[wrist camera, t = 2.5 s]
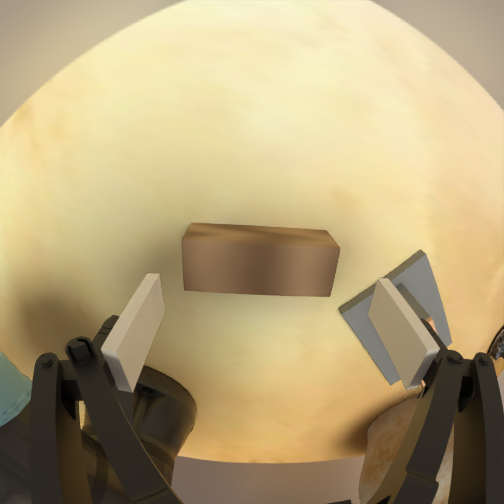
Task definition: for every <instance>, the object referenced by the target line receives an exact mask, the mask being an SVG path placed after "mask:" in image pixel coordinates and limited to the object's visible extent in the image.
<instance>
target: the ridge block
mask: <svg viewBox="0 0 504 504" xmlns="http://www.w3.org/2000/svg"><path fill="white" fill-rule="evenodd" d="M384 278H388V279H389V280H390V281H391V283H392V284H393V285H394V286H395V288H396V289H397V290H398V291H399V293H400V294H401V295H402V297H403V298H404V299H405V300H406V302H407V303H408V304H409V306H410V307H411V308H412V310H413V311H414V312H415V314H416V315H417V316H418V318H423V319H424V320H426V321H427V322H428V323H429V324H430V325H431V326H432V328H433V330H434V331H435V332H436V333H437V335H438V336H439V337H440V339H441V340H442V342H443V343H444V344H445V346H446V347H447V346H449V345H450V344H451V343H452V340H451V335H450V331H449V327H448V323H447V319H446V315H445V311H444V308H443V304H442V301H441V297H440V294H439V291H438V288H437V284H436V281H435V278H434V275H433V272H432V269H431V266H430V264H429V261H428V258H427V255H426V254H425V253H424V252H423V251H422V250H420V251H419V252H417V253H416V254H415V255H413V256H412V257H411V258H410V259H408V260H407V261H406V262H404V263H403V264H402V265H400V266H399V267H398V268H396V269H395V270H394V271H392V272H391V273H389V274H388V275H387V276H385V277H384ZM375 287H376V284H374V285H373V286H371V287H370V288H368V289H367V290H365V291H364V292H363V293H361V294H360V295H358V296H357V297H355V298H354V299H352V300H351V301H349V302H348V303H346V304H345V305H343V306H341V307H340V308H339V310H340V312H341V315H342V316H343V317H344V319H345V320H346V322H347V323H348V324H349V326H350V327H351V329H352V330H353V332H354V333H355V334H356V336H357V337H358V339H359V340H360V342H361V343H362V344H363V346H364V347H365V349H366V350H367V352H368V353H369V355H370V356H371V357H372V359H373V360H374V362H375V363H376V365H377V366H378V368H379V369H380V371H381V372H382V374H383V375H384V377H385V378H386V380H387V381H388V383H389V384H390V386H391V385H392V384H394V383H395V382H397V381H399V380H400V379H401V378H400V376H399V374H398V372H397V370H396V368H395V366H394V364H393V362H392V360H391V358H390V356H389V354H388V352H387V350H386V348H385V346H384V344H383V342H382V340H381V339H380V337H379V335H378V333H377V331H376V329H375V327H374V325H373V323H372V322H371V320H370V318H369V316H368V312H369V309H370V306H371V302H372V298H373V295H374V291H375ZM420 384H421V386H422V388H424V386H425V383H424V381H423V380H422V382H421V383H420Z"/></svg>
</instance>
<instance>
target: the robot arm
mask: <svg viewBox="0 0 504 504" xmlns="http://www.w3.org/2000/svg"><path fill="white" fill-rule="evenodd" d="M164 314H165V307H164V301H163V295H162V288H161V281H160V274H154V273H147V275H146V276H145V278H144V279H143V281H142V282H141V284H140V285H139V287H138V289H137V290H136V292H135V293H134V295H133V296H132V298H131V299H130V301H129V303H128V304H127V306H126V307H125V309H124V311H123V312H122V314H121V315H120V316H116V315H112V316H111V317H110V318H108V319H107V320H106V321H105V322H104V324H103V326H102V328H101V329H100V330H99V332H98V333H97V335H96V336H95V338H94V340H93V341H92V342H91V340H90V339H89V338H87V337H76V338H74V339H72V340H70V341H69V342H68V343H67V345H66V348H65V351H66V353H67V355H68V357H69V359H70V360H62V361H59V359H58V357H57V356H56V354H53V353H45V354H43V355H41V356H39V358H38V359H37V360H36V363H35V368H34V375H33V382H32V381H31V379H30V378H29V377H28V376H26V375H24V374H22V373H21V372H20V371H19V370H18V368H17V367H16V366H15V365H14V364H13V363H12V362H11V361H10V360H9V359H8V357H7V356H6V355H5V354H4V353H3V352H2V351H0V504H184V503H183V502H182V501H181V500H180V498H179V497H178V496H177V495H176V493H175V492H174V491H173V489H172V488H171V483H172V475H173V469H174V462H175V458H176V456H177V454H178V453H179V451H180V449H181V448H182V446H183V444H184V442H185V441H186V439H187V437H188V435H189V433H190V432H191V431H192V429H193V427H194V425H195V419H196V412H197V408H196V404H195V402H194V400H193V398H192V397H191V395H190V394H189V393H188V392H187V391H186V390H185V389H184V388H183V387H182V386H181V385H179V384H178V383H177V382H175V381H174V380H172V379H170V378H169V377H167V376H165V375H163V374H161V373H159V372H157V371H155V370H152V369H150V368H147V367H144V366H143V365H144V362H145V360H146V357H147V355H148V352H149V350H150V347H151V345H152V342H153V340H154V338H155V335H156V333H157V330H158V328H159V326H160V323H161V321H162V318H163V316H164ZM368 316H369V318H370V320H371V322H372V323H373V325H374V327H375V329H376V331H377V333H378V335H379V337H380V339H381V340H382V342H383V344H384V346H385V348H386V350H387V352H388V354H389V356H390V358H391V360H392V362H393V364H394V366H395V368H396V370H397V372H398V374H399V376H400V378H401V381H402V383H403V385H404V387H405V389H406V390H409V389H414V388H418V386H419V385H420V383H421V382H422V380H423V381H424V383H425V386H424V388H423V389H422V391H421V392H420V394H419V395H418V397H417V399H419V401H418V404H417V407H416V409H415V412H414V415H413V417H412V420H411V422H410V425H409V427H408V430H407V432H406V434H405V437H404V439H403V441H402V443H401V445H400V448H399V450H398V452H397V454H396V456H395V458H394V460H393V462H392V464H391V466H390V468H389V470H388V472H387V474H386V475H385V477H384V479H383V481H382V483H381V484H380V486H379V488H378V489H377V491H376V493H375V494H374V495H373V496H372V497H371V499H370V500H369V501H368V502H367V503H366V504H432V503H433V500H434V498H435V495H436V493H437V491H438V487H439V482H437V481H436V477H437V474H438V472H439V469H440V466H441V463H442V460H443V457H444V454H445V451H446V448H447V444H448V441H449V437H450V434H451V430H452V426H453V422H454V446H453V464H452V475H451V484H450V492H449V498H448V504H504V412H503V406H502V400H501V395H500V390H499V385H498V380H497V376H496V372H495V368H494V364H493V361H492V359H491V358H490V357H489V355H487V354H485V353H482V352H479V353H477V354H476V355H475V356H474V358H473V360H470V359H463V357H462V355H460V354H459V353H458V352H456V351H454V350H448V349H447V347H446V346H445V344H444V343H443V342H442V340H441V339H440V337H439V336H438V335H437V333H436V332H435V331H434V330H433V328H432V326H431V325H430V324H429V323H428V322H427V321H426V320H424V319H423V318H418V316H417V315H416V314H415V312H414V311H413V310H412V308H411V307H410V306H409V304H408V303H407V302H406V300H405V299H404V298H403V297H402V295H401V294H400V293H399V291H398V290H397V289H396V288H395V286H394V285H393V284H392V283H391V281H390V280H389V279H388V278H378V280H377V283H376V287H375V291H374V295H373V298H372V302H371V306H370V309H369V312H368ZM419 397H420V398H419ZM79 401H84V404H85V418H84V425H83V428H82V430H81V429H80V417H79ZM329 504H351V500H346V501H341V502H335V503H329Z"/></svg>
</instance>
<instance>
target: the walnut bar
mask: <svg viewBox="0 0 504 504" xmlns="http://www.w3.org/2000/svg"><path fill="white" fill-rule="evenodd" d="M339 253H340V247H339V246H338V245H337V243H336V242H335V241H334V239H333V238H332V237H331V235H330V234H329V233H328V232H327V231H325V230H311V229H297V228H281V227H265V226H247V225H228V224H206V223H191V225H190V227H189V228H188V230H187V232H186V233H185V235H184V237H183V239H182V261H183V280H184V290H186V291H201V292H216V293H234V294H255V295H280V296H318V297H330V295H331V291H332V286H333V282H334V277H335V273H336V268H337V263H338V258H339Z"/></svg>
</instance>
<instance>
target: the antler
mask: <svg viewBox="0 0 504 504" xmlns="http://www.w3.org/2000/svg"><path fill="white" fill-rule="evenodd" d="M491 347H492V348H490V352H489V353H488V355H489V356H492V357H493V358H494V359H495V360H497V359H498V358H499V357H503V358H504V329H503V330H502V331H501V332H500V334H499V335H498V336H497V338H496V340H495V342H494V344H493V345H492V346H491Z"/></svg>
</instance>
